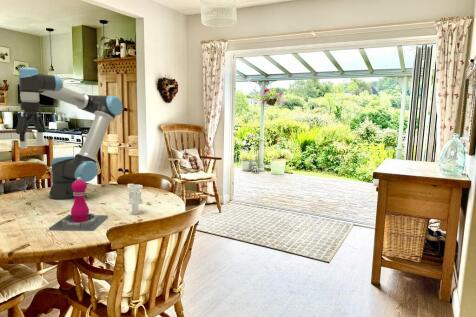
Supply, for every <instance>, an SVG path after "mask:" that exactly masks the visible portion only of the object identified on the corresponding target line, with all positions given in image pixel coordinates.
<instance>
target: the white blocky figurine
mask: <svg viewBox="0 0 476 317" xmlns="http://www.w3.org/2000/svg"><path fill="white" fill-rule="evenodd" d="M142 189H143V185H142V184H135V183H127V192H129V194H128V196H129V199H128V200H127V204H128V205H131V214H132V215H138V214H139V213H140V212H139V205H141V204H143V199H142V191H141V190H142Z"/></svg>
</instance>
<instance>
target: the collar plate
mask: <svg viewBox="0 0 476 317" xmlns="http://www.w3.org/2000/svg"><path fill="white" fill-rule="evenodd" d="M87 216H88V221H83V222H72V218H73V216H72V215H71V214H68V215H66V216H65V217H62V219H60V220H59V221H57V222H55V223H54V224H53V225H51V226H50V227H48V231H74V232H75V231H76V232H77V231H78V232H79V231H80V232H83V231H84V232H86V231H87V232H88V231H89V232H93V231H96V229H97V228H98V227H100V226H101V225H102V223H104V222H105V221H106V220H107V219H109V218H108V217H109V215H107V214H106V215H102V214H99V215H98V214H94V213H92V212H91V213H90V212H89V213H88V214H87Z"/></svg>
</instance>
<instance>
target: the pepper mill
mask: <svg viewBox="0 0 476 317" xmlns="http://www.w3.org/2000/svg"><path fill="white" fill-rule="evenodd" d="M87 188H88V185H87V182H84V181H82V180H81V177H78V178H77V181H75V182H73V184H72V190H73V191H74V192H73V195H74V197H75V198H73V199H74V200H73V201H74V202H73V204H72V207H71V210H70V215H72V216H73V218H72V222H83V221H88V216H87V214H88V213H90V209H89V206H88V204H87V203H86V202H87V201H86V198H85V197H86V196H85V195H86V193H87V192H86V190H87Z"/></svg>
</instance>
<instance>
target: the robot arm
mask: <svg viewBox="0 0 476 317" xmlns="http://www.w3.org/2000/svg"><path fill="white" fill-rule="evenodd" d="M63 83H64V82H63V79H62V78H61V77H60V76H57V75H54V74H53V75H52V74H42V73H39V70H38V69H37V68H35V67H28V66H26V67H25V66H24V67H20V68H19V70H18V86H19V92H20V94H19V96H20V101H21V102H20V110H22V111H19V113H18V115H19V116H18V121H17V124H16V128H15V133H16V134H17V135H19V147H20V148H19V149H27V150H28V134H27V131H28V128H29V125H30V124H31V123H32V125H33V126H34V128H35V129H36V134H35V135H36V146H37V147H38V146H39V147H44V133H46V126H45V124H44V121H43V118H42V112H38V111H40V110H41V105H40V95H43V96H46V97H49V98H51V99H55V100H58V101H61V102H64V103H67V104H70V105H72V106H75V107H76V108H77V109H79V110H82V111H85V112H87V113H89V114H94V119H93V121H92V124H91V126H90V127H89V130H88V132H87V135H86V137H85V140H84V142H83V144H82V146H81V149H80V151H79V152H78V153H75V155H74V156H61V157H53V158H52V160H51V177H52V178H51V179H52V185H51V188H50V191H49V199H52V200H68V199H75V197H74V195H73V192H74V191H73V190H72V184H73V182H75V181H77V178H78V177H81V180H82V181H84V182H86V183H87V182H91V181H93V179H95V177H96V176H97V174H98V171H99V170H98V164H97V163H98V162H97V160H96V158H97V155H98V152H99V150H100V147H101V145H102V143H103V140H104V137H105V135H106V133H107V131H108V129H109V126H110V123H111V122H114V120H115V118H116V117H117V116H119V115H121V114H122V113H123V103H122V101H121V99H120V98H119V97H118V96H117V95H110V94H109V95H91V94H87V93H81V92H76V91H75V90H72V89H70V88H69V89H68V88H66V87H64V84H63Z"/></svg>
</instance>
